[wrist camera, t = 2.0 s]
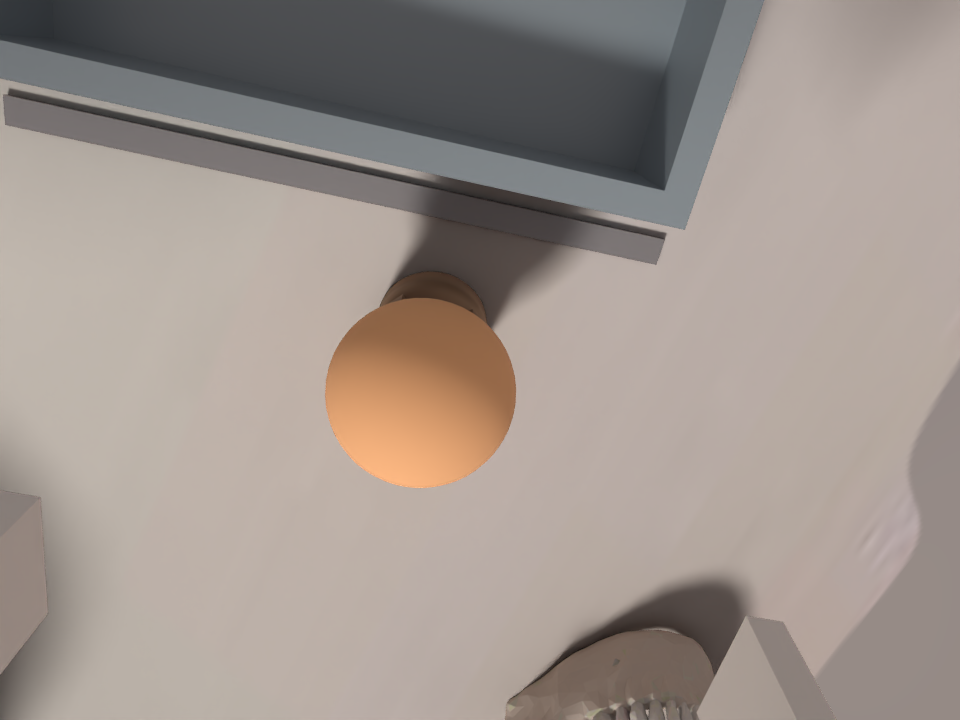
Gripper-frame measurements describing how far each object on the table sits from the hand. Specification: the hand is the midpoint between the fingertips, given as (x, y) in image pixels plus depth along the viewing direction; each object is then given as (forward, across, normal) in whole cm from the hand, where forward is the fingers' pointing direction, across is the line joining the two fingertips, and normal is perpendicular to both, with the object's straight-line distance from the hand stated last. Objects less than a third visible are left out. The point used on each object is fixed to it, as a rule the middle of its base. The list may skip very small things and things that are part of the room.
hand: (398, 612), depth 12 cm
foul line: (+15, -4, +5) cm, 17 cm away
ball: (+12, 0, 0) cm, 12 cm away
